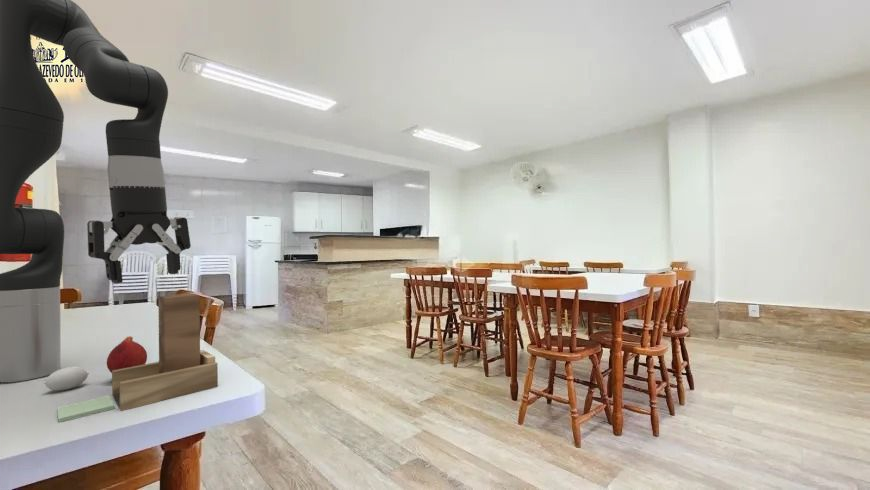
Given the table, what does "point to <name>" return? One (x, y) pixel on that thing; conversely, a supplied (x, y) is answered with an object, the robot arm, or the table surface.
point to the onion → (126, 355)
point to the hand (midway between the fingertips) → (146, 277)
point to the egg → (66, 378)
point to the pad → (84, 408)
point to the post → (179, 332)
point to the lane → (161, 382)
